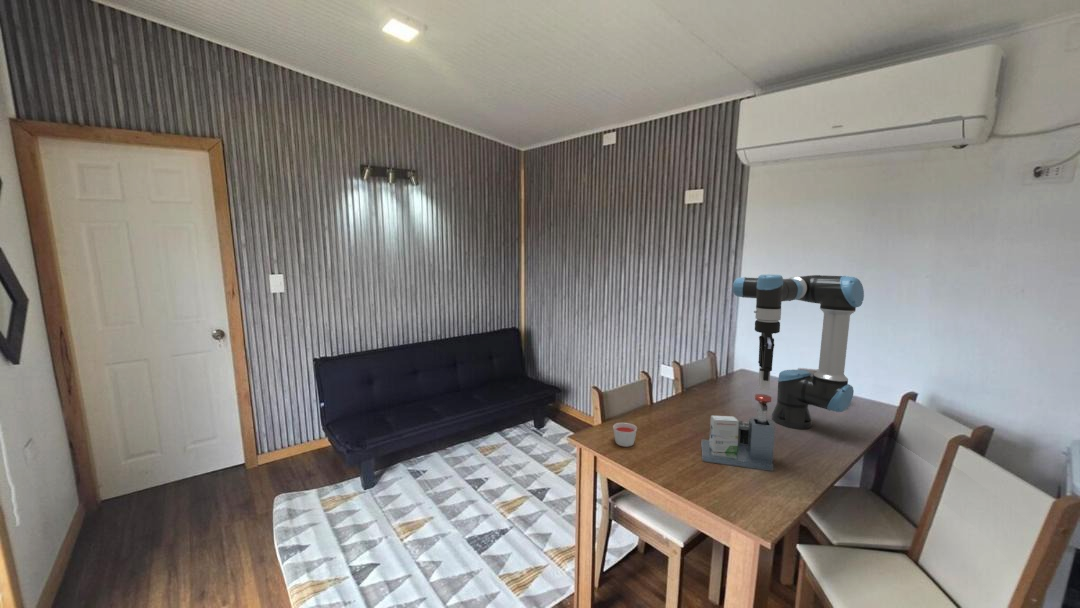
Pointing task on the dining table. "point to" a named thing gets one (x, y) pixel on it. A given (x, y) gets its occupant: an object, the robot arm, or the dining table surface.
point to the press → (747, 448)
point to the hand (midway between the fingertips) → (763, 387)
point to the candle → (624, 434)
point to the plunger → (762, 407)
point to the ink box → (724, 434)
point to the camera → (743, 433)
